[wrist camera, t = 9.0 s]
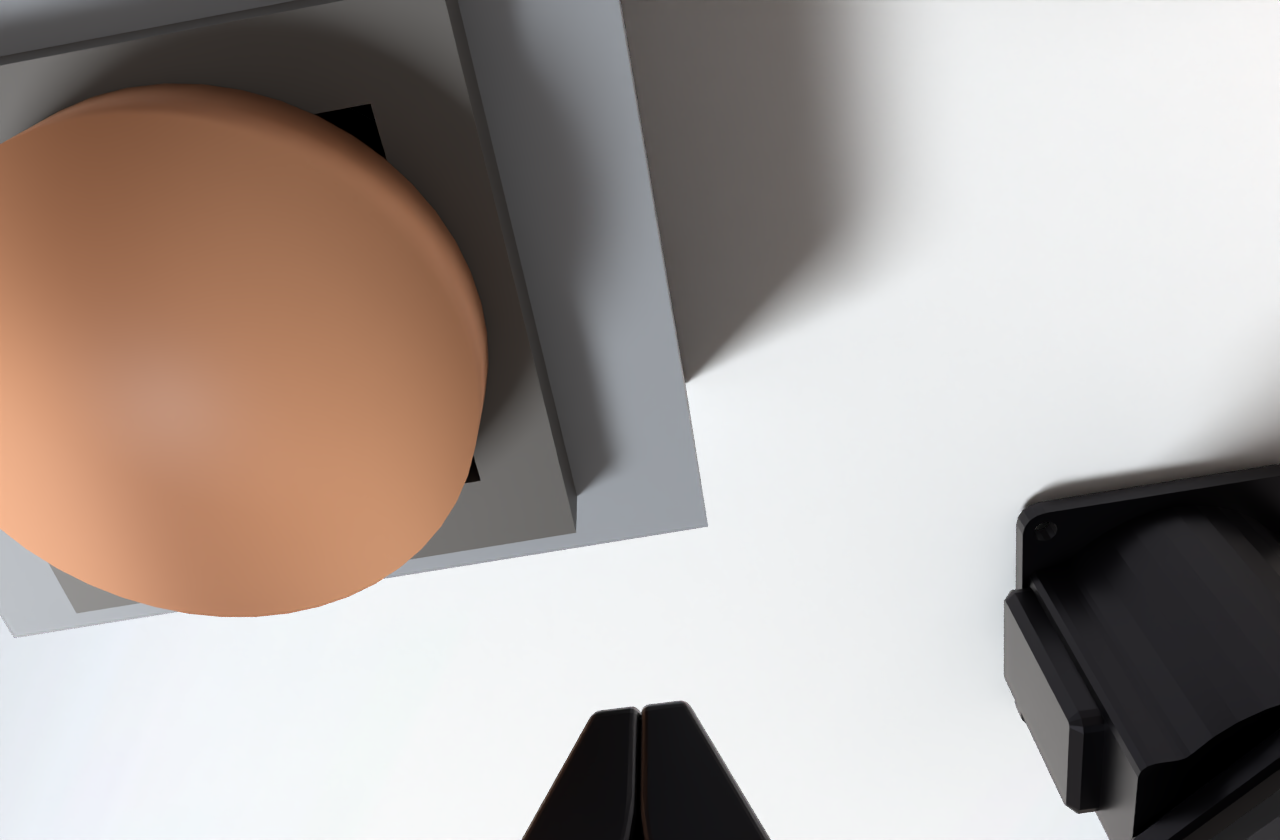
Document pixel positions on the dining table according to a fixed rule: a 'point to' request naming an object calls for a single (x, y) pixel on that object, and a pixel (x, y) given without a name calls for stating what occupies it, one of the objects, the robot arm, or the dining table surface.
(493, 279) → the socket block
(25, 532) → the pin
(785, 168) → the dining table surface
